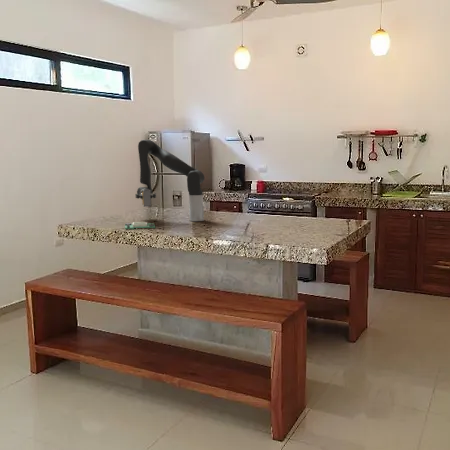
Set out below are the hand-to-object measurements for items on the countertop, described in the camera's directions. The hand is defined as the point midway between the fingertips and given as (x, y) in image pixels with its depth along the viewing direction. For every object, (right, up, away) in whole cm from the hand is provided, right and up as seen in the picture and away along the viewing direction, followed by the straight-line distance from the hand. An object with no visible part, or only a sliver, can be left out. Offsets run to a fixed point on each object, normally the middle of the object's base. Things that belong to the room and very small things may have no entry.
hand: (146, 197), depth 320 cm
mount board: (-3, -19, -6) cm, 20 cm away
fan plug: (0, -6, +3) cm, 7 cm away
